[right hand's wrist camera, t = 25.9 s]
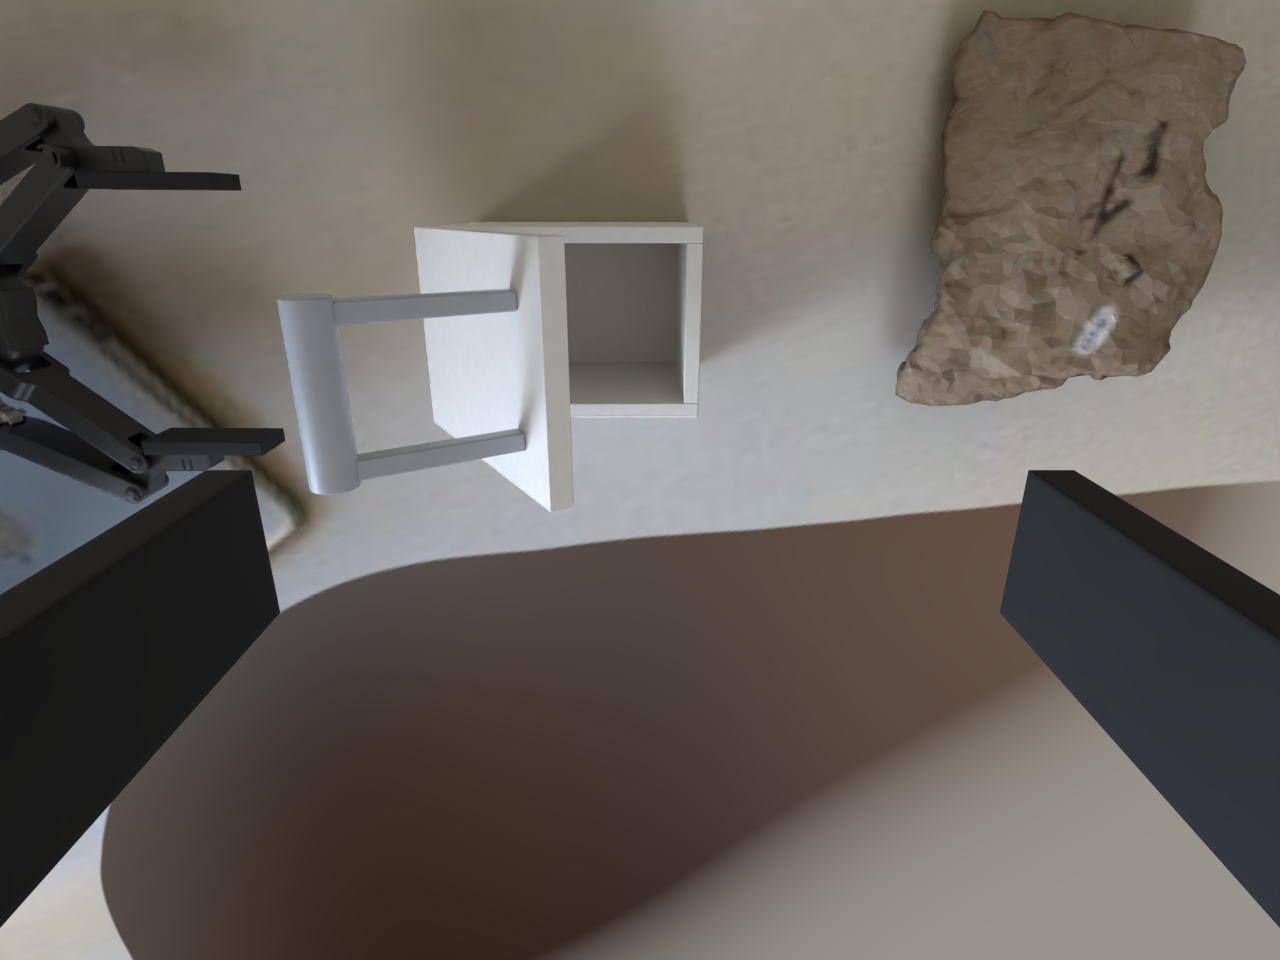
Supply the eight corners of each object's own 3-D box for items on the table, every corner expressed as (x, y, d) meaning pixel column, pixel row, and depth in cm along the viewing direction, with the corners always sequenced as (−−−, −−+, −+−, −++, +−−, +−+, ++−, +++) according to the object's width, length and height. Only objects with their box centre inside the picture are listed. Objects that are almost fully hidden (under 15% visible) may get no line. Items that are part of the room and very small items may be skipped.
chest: (688, 221, 43) (703, 226, 33) (685, 371, 46) (698, 417, 36) (476, 221, 43) (426, 226, 33) (487, 371, 46) (445, 417, 36)
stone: (1140, 424, 44) (1192, 436, 38) (888, 399, 47) (900, 406, 41) (1225, 48, 40) (1297, -4, 34) (943, 45, 43) (965, -3, 37)
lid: (564, 235, 22) (276, 241, 18) (574, 507, 25) (330, 563, 21) (433, 226, 33) (232, 229, 29) (452, 419, 36) (273, 445, 32)
